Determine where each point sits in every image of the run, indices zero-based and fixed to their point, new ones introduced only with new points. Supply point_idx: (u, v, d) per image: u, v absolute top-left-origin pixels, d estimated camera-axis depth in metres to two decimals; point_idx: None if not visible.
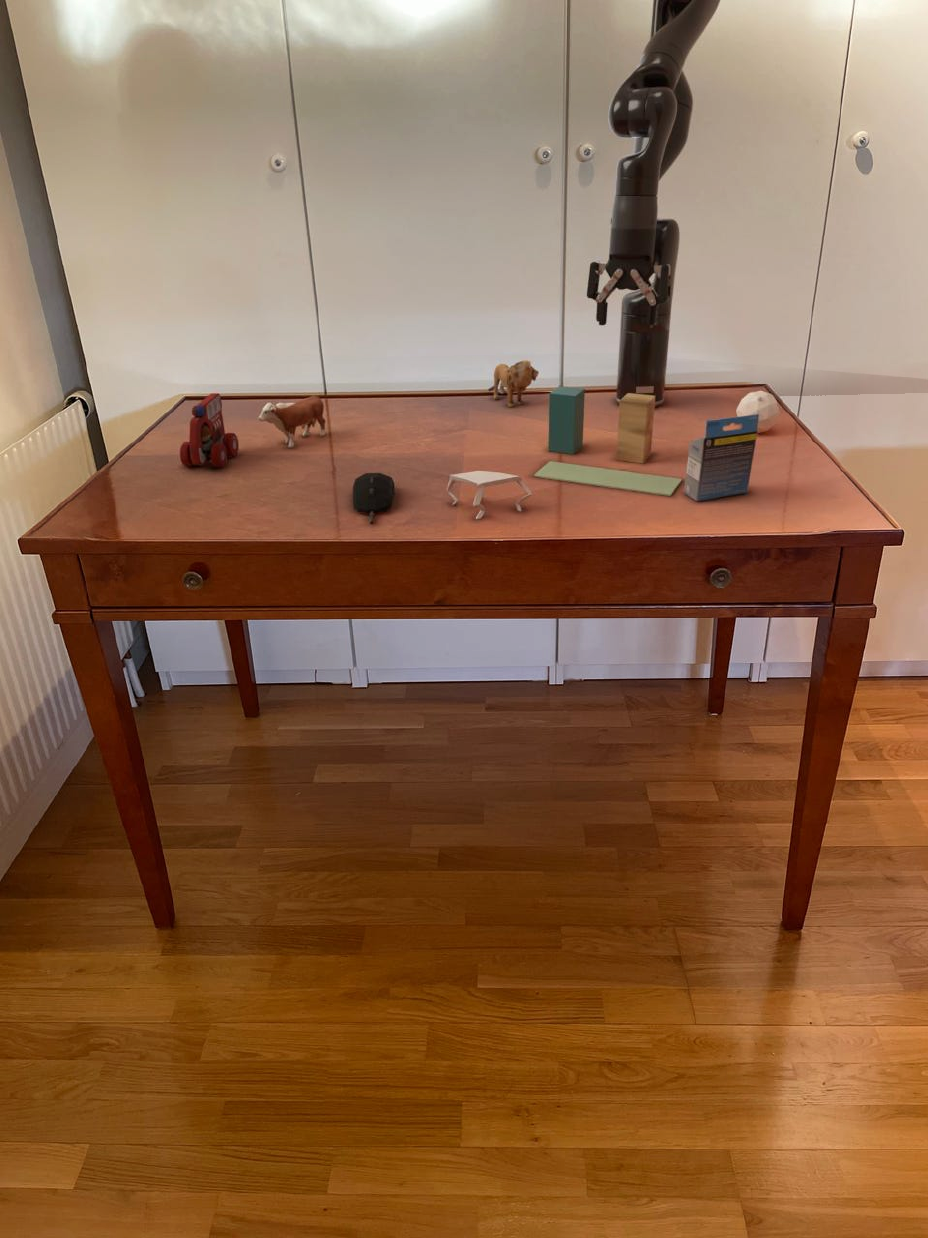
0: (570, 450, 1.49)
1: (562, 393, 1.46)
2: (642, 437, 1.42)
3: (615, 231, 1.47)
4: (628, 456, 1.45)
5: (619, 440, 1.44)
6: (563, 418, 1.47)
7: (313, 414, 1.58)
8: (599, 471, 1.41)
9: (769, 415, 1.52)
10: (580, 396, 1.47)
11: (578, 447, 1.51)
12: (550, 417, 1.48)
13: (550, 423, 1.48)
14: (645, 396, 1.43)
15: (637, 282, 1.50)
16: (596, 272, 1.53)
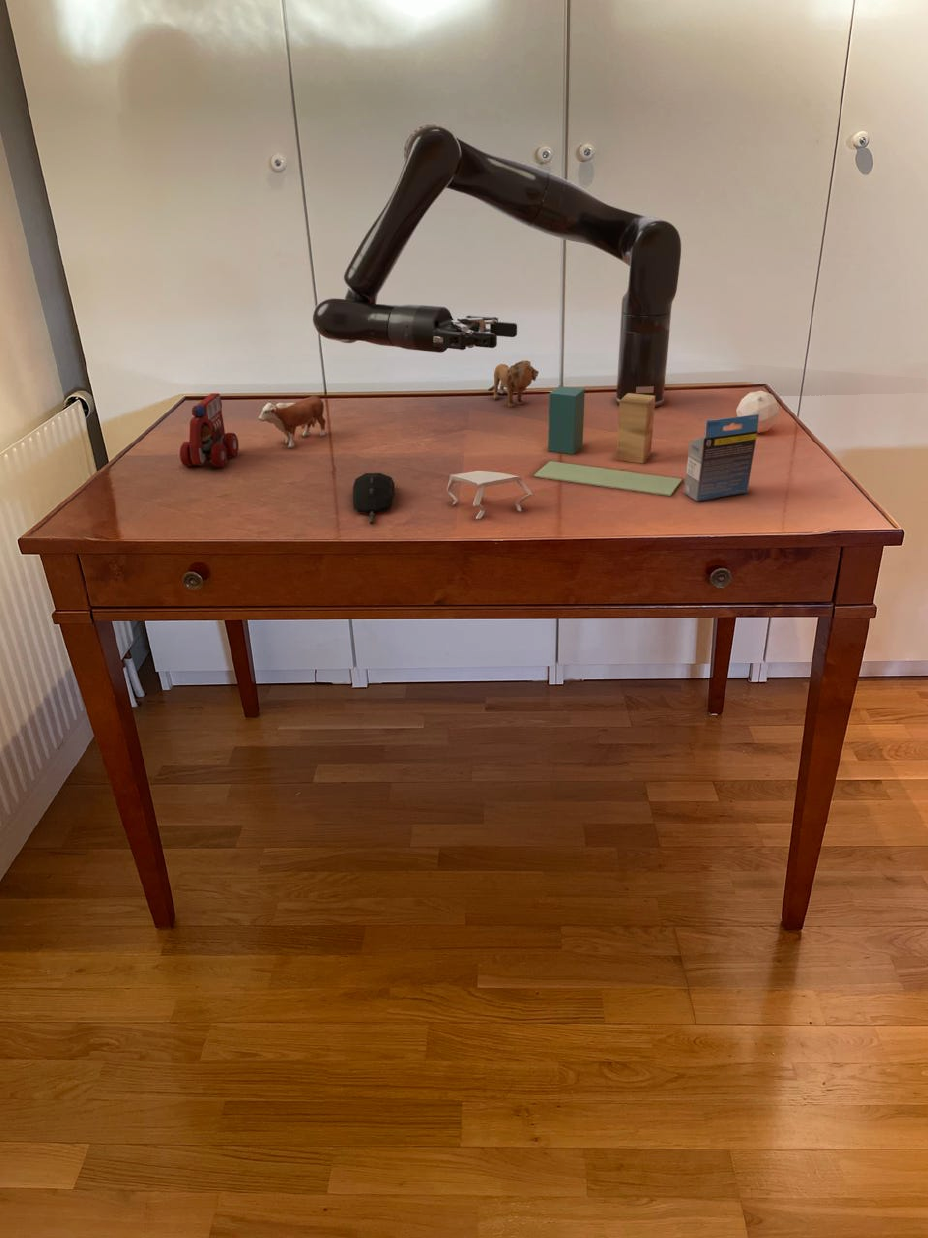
0: (570, 450, 1.49)
1: (562, 393, 1.46)
2: (642, 437, 1.42)
3: None
4: (628, 456, 1.45)
5: (619, 440, 1.44)
6: (563, 418, 1.47)
7: (313, 414, 1.58)
8: (599, 471, 1.41)
9: (769, 415, 1.52)
10: (580, 396, 1.47)
11: (578, 447, 1.51)
12: (550, 417, 1.48)
13: (550, 423, 1.48)
14: (645, 396, 1.43)
15: None
16: None
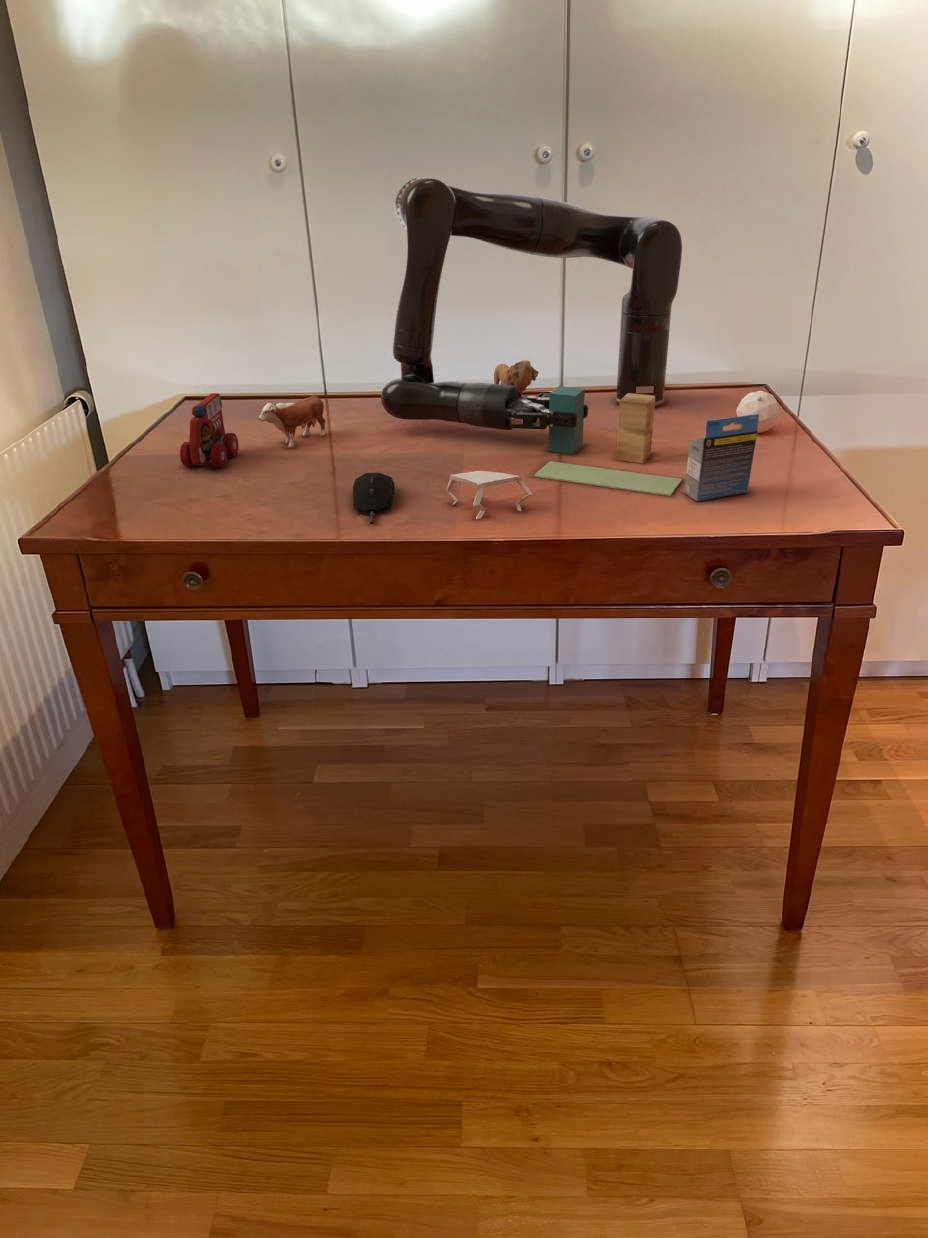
0: (570, 450, 1.49)
1: (562, 393, 1.46)
2: (642, 437, 1.42)
3: None
4: (628, 456, 1.45)
5: (619, 440, 1.44)
6: None
7: (313, 414, 1.58)
8: (599, 471, 1.41)
9: (769, 415, 1.52)
10: (580, 396, 1.47)
11: (578, 447, 1.51)
12: None
13: None
14: (645, 396, 1.43)
15: None
16: None
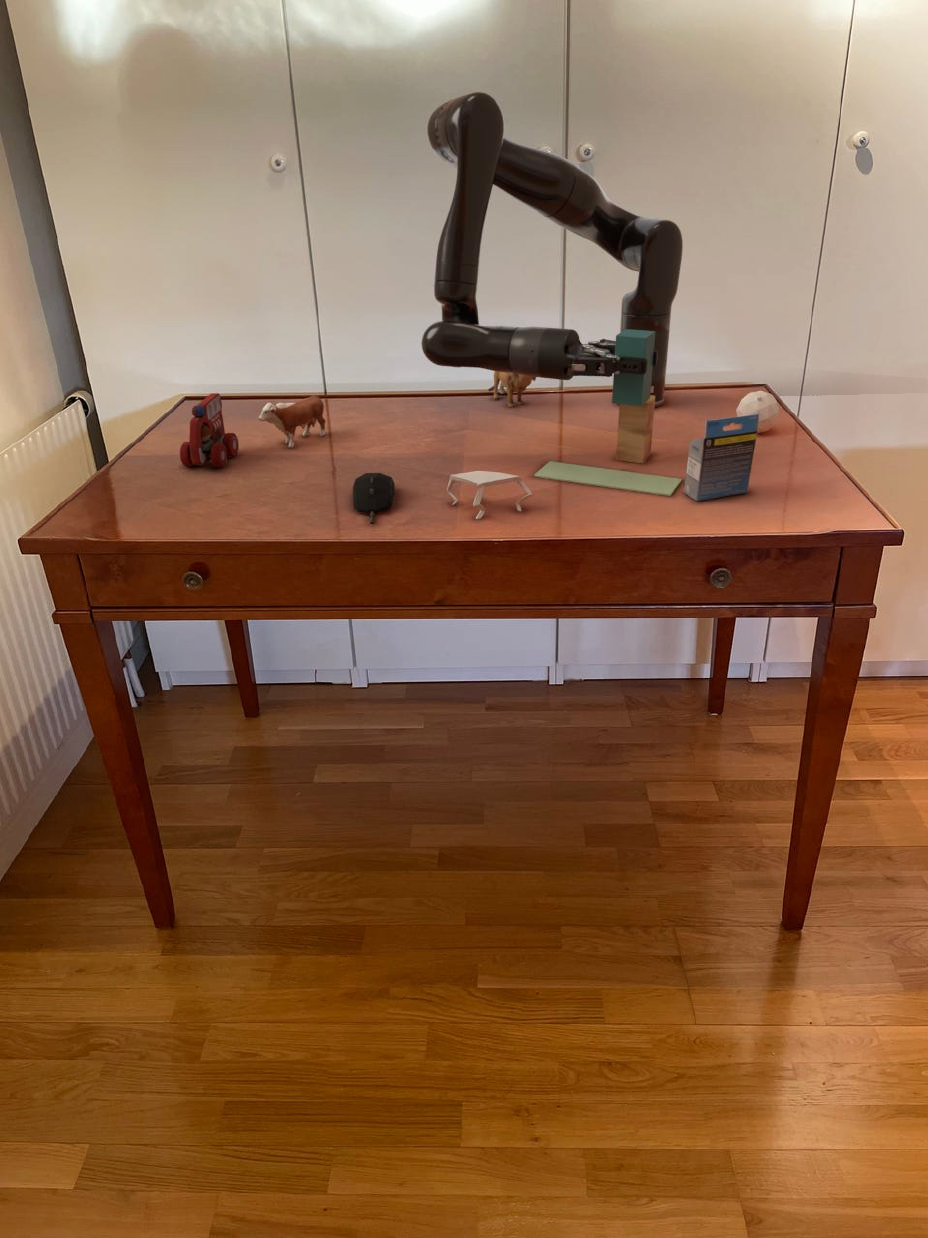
0: (637, 401, 1.32)
1: (630, 335, 1.28)
2: (642, 437, 1.42)
3: None
4: (628, 456, 1.45)
5: (619, 440, 1.44)
6: None
7: (313, 414, 1.58)
8: (599, 471, 1.41)
9: (769, 415, 1.52)
10: (651, 340, 1.29)
11: (646, 399, 1.33)
12: None
13: None
14: None
15: None
16: None
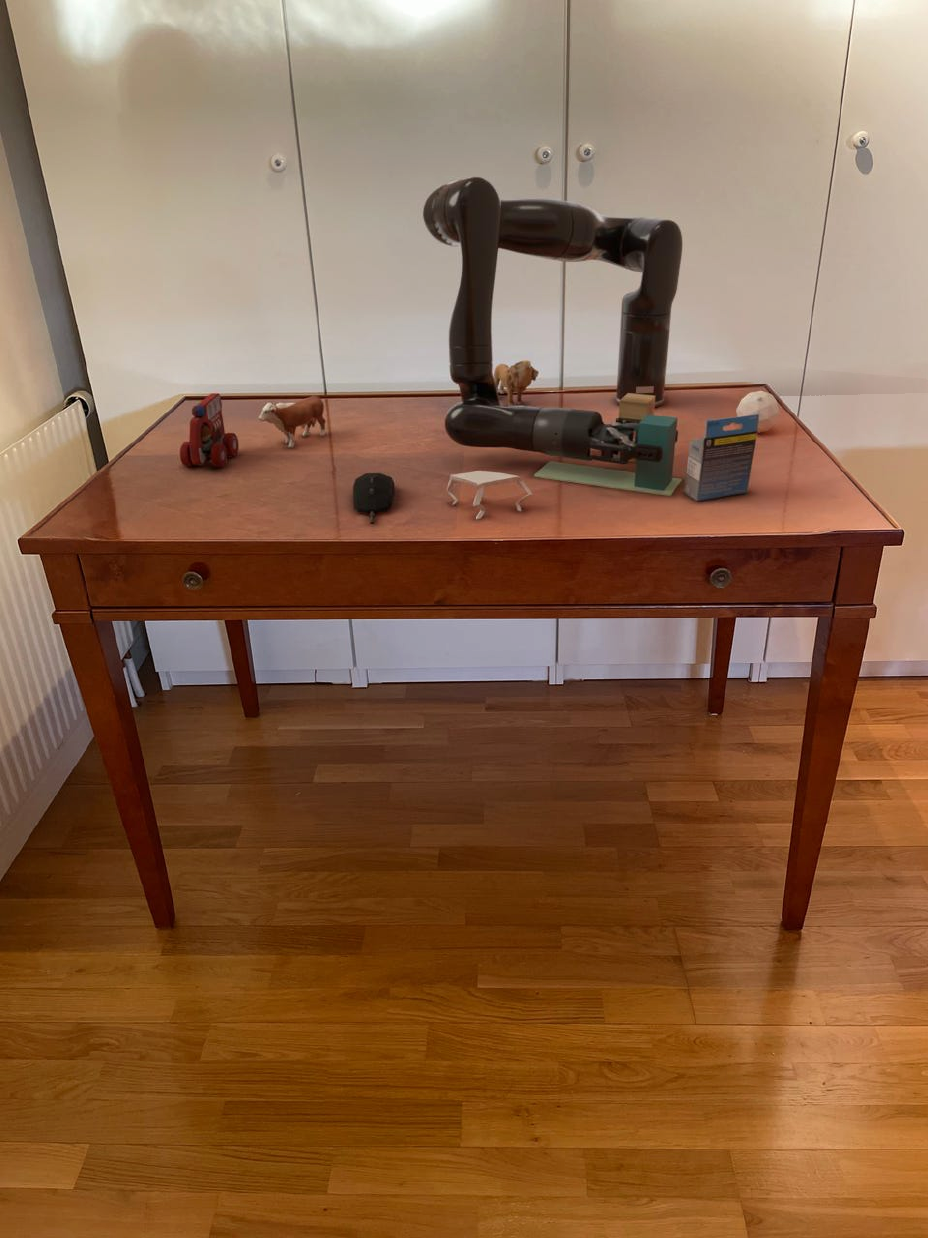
0: (660, 486, 1.33)
1: (653, 423, 1.30)
2: None
3: None
4: None
5: None
6: None
7: (313, 414, 1.58)
8: (599, 471, 1.41)
9: (769, 415, 1.52)
10: (673, 426, 1.31)
11: (668, 482, 1.35)
12: None
13: None
14: (645, 396, 1.43)
15: None
16: None
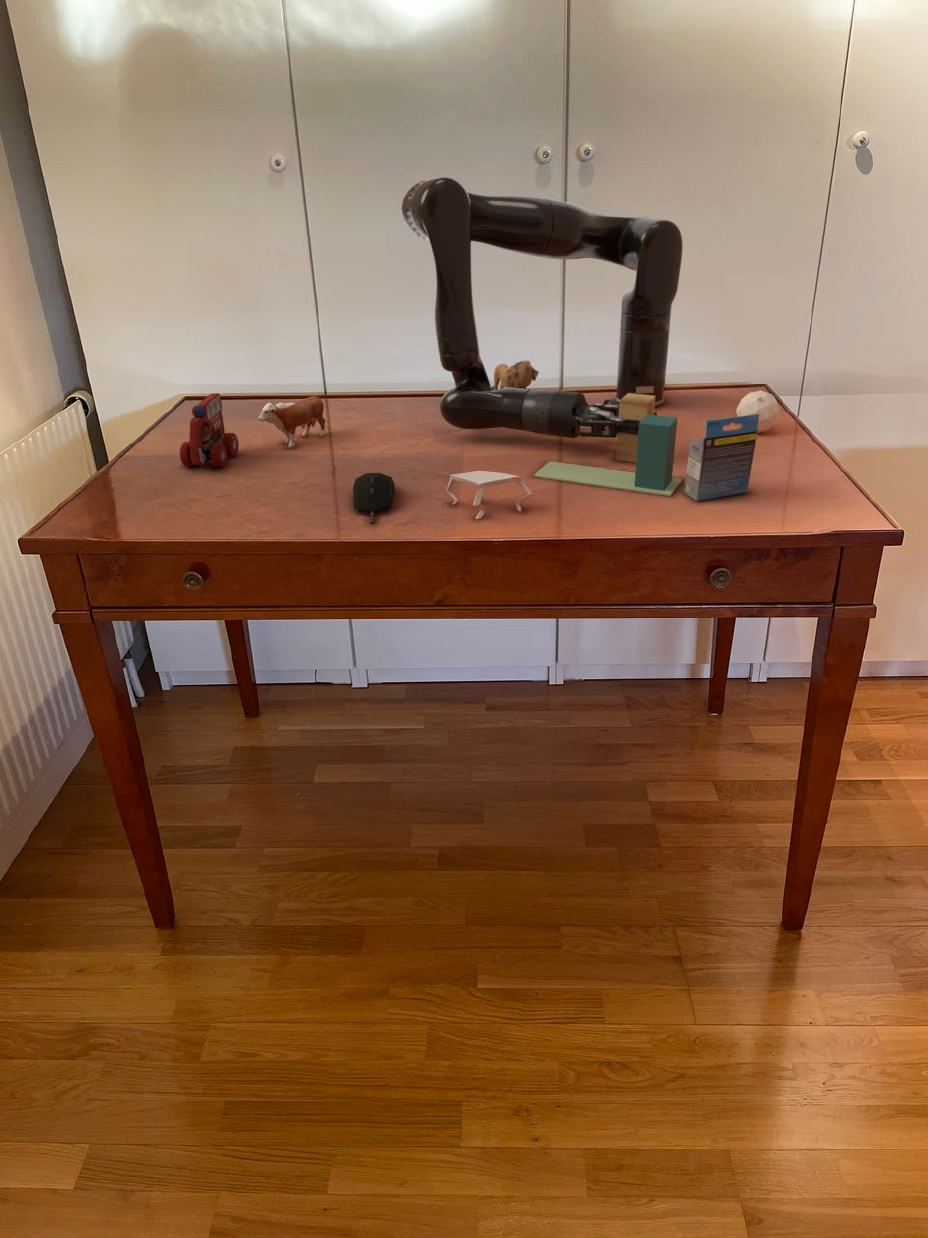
0: (660, 486, 1.33)
1: (653, 423, 1.30)
2: None
3: None
4: (628, 456, 1.45)
5: (619, 440, 1.44)
6: (653, 450, 1.31)
7: (313, 414, 1.58)
8: (599, 471, 1.41)
9: (769, 415, 1.52)
10: (673, 426, 1.31)
11: (668, 482, 1.35)
12: (638, 449, 1.32)
13: (638, 456, 1.32)
14: (645, 396, 1.43)
15: None
16: None
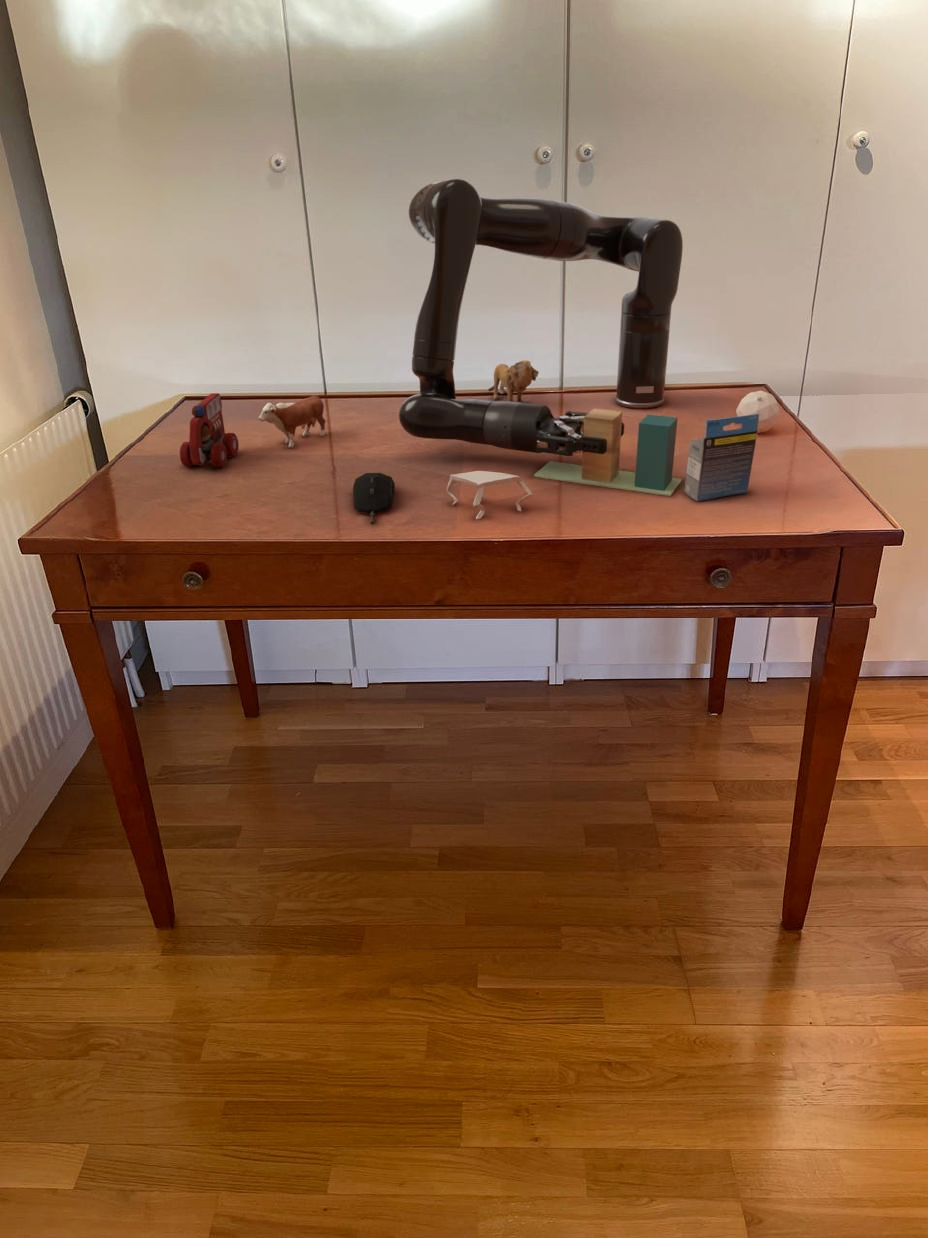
0: (660, 486, 1.33)
1: (653, 423, 1.30)
2: (608, 456, 1.35)
3: None
4: (594, 475, 1.37)
5: (584, 458, 1.36)
6: (653, 450, 1.31)
7: (313, 414, 1.58)
8: None
9: (769, 415, 1.52)
10: (673, 426, 1.31)
11: (668, 482, 1.35)
12: (638, 449, 1.32)
13: (638, 456, 1.32)
14: (611, 412, 1.35)
15: None
16: None
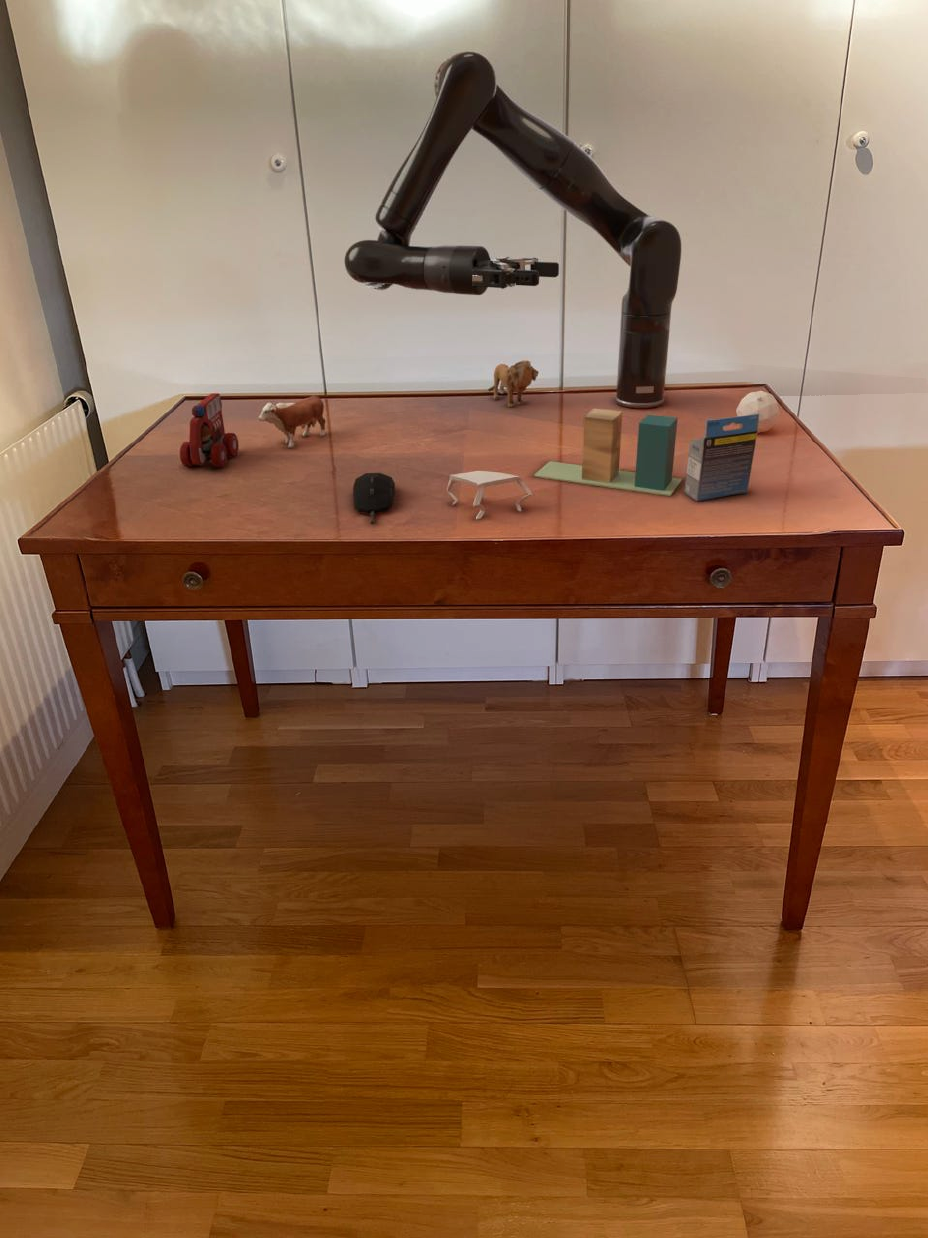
0: (660, 486, 1.33)
1: (653, 423, 1.30)
2: (608, 456, 1.35)
3: None
4: (594, 475, 1.37)
5: (584, 458, 1.36)
6: (653, 450, 1.31)
7: (313, 414, 1.58)
8: None
9: (769, 415, 1.52)
10: (673, 426, 1.31)
11: (668, 482, 1.35)
12: (638, 449, 1.32)
13: (638, 456, 1.32)
14: (611, 412, 1.35)
15: None
16: None
